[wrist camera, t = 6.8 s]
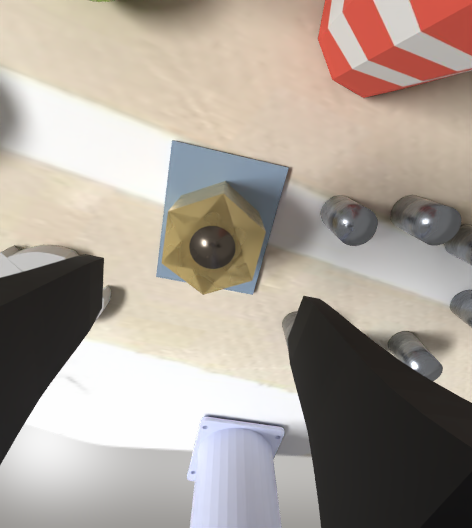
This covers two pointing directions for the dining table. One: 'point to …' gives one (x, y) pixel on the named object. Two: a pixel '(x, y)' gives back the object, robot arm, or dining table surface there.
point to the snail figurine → (102, 0)
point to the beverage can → (395, 42)
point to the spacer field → (422, 227)
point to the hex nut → (213, 238)
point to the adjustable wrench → (39, 262)
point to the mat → (216, 171)
